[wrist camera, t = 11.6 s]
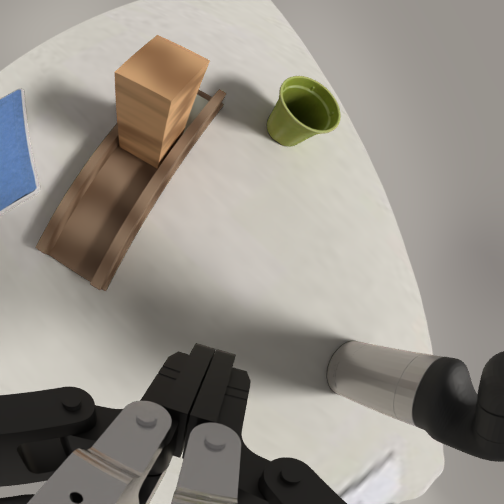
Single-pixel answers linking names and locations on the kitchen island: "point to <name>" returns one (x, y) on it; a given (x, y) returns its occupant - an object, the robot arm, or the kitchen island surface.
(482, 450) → the robot arm
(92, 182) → the chute
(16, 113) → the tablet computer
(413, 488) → the kitchen island surface
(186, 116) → the block
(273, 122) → the plant pot
